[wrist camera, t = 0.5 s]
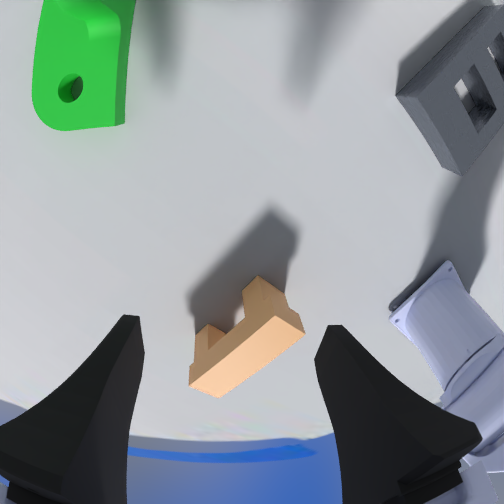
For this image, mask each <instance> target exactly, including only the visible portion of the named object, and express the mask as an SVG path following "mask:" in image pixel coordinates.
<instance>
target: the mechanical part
mask: <svg viewBox="0 0 504 504" xmlns="http://www.w3.org/2000/svg"><path fill="white" fill-rule="evenodd" d="M135 1H136V0H44V2H43V6H42V11H41V16H40V21H39V27H38V33H37V39H36V47H35V55H34V65H33V78H32V101H33V105H34V109H35V111H36V113H37V115H38V117H39V118H40V119H41V120H42V121H43V123H45V124H46V125H47V126H49V127H51V128H53V129H56V130H60V131H71V130H79V129H88V128H98V127H109V126H117V125H120V124H124V123H125V94H126V77H127V64H128V53H129V44H130V35H131V27H132V20H133V14H134V7H135ZM78 77H81V78H82V80H83V90H82V93H81V95H80V96H79V97H78V98H77V99H76V100H75V99H74V98H73V96H72V93H71V88H72V85H73V83H74V81H75V80H76V79H77V78H78Z"/></svg>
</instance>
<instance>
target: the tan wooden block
mask: <svg viewBox="0 0 504 504" xmlns="http://www.w3.org/2000/svg"><path fill="white" fill-rule="evenodd" d="M242 297H243V305H244V312H245V318H244V319H243V320H242V321H241V322H239V323H238V324H237V325H236V326H235V327H234V328H233V329H232V330H230V331H229V332H228V333H227V334H226V333H224V332H222V331H221V330H219V329H217V328H215V327H214V326H212V325H210V324H207V325H206V326H205V327H204V328H203V329H202V330H201V331H200V332H198V333H197V334H196V335H195V352H194V363H193V364H191V365H190V370H189V386H190V387H192V388H194V389H197V390H199V391H202V392H204V393H207V394H209V395H212V396H214V397H217V398H220V397H222V396H223V395H225V394H226V393H227V392H229V391H230V390H232V389H233V388H235V387H236V386H238V385H239V384H240V383H242V382H243V381H245V380H246V379H248V378H249V377H250V376H252V375H253V374H255V373H256V372H257V371H259V370H260V369H261V368H263V367H264V366H265V365H267V364H268V363H269V362H271V361H272V360H273V359H275V358H276V357H277V356H279V355H280V354H281V353H283V352H284V351H285V350H286V349H288V348H289V347H290V346H292V345H293V344H294V343H295V342H297V341H298V340H299V339H300V338H302V337H303V336H304V335H305V331H304V328H303V325H302V322H301V319H300V316H299V314H298V313H296V312H295V311H293V310H292V309H290V308H289V307H288V303H287V300H286V297H285V294H284V293H283V292H281V291H280V290H278V289H277V288H275V287H274V286H273V285H271V284H270V283H268V282H267V281H265V280H264V279H263V278H261V277H260V276H257V277H256V278H255V279H254V280H253V281H252V282H251V283H250V284H248V285H247V286H246V287H245V288H244V289H243V290H242Z"/></svg>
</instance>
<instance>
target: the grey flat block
mask: <svg viewBox="0 0 504 504" xmlns="http://www.w3.org/2000/svg"><path fill="white" fill-rule="evenodd" d="M488 46H489V48H490V49H491V51H492V53H493V55H494V57H495V59H496V61H497V63H498V65H499V67H500V69H501V71H502V72H501V73H500V72H499V70H498V68H497V66H496V64H495V62H494V60H493V58H492V57H491V55H490V53H489V51H488V49H487V48H488ZM461 78H462V80H463V82H464V83H465V85H466V87H467V89H468V91H469V93H470V94H471V96H472V98H473V100H474V102H475V104H476V106H475V107H474V108H473V109H472V111H471V112H470V113H469V114H468V113H467V111H466V109H465V107H464V105H463V103H462V102H461V100H460V98H459V96H458V94H457V93H456V91H455V89H454V86H455V85H456V83H457V82H458V81H459V80H460V79H461ZM396 97H397V99H398V100H399V101H400V103H401V104H402V105H403V107H404V108H405V110H406V111H407V112H408V114H409V115H410V117H411V118H412V120H413V121H414V122H415V124H416V125H417V127H418V128H419V130H420V131H421V133H422V135H423V136H424V138H425V139H426V141H427V142H428V144H429V146H430V147H431V149H432V151H433V152H434V154H435V156H436V157H437V159H438V161H439V163H440V164H441V166H442V167H443V168H445V169H447V170H450V171H452V172H454V173H456V174H458V175H460V176H463V175H464V174H465V173H466V171H467V170H468V169H469V168H470V166H471V165H472V164H473V163H474V161H475V160H476V159H477V158H478V156H479V155H480V154H481V153H482V151H483V150H484V149H485V147H486V146H487V145H488V143H489V142H490V141H491V139H492V138H493V137H494V135H495V134H496V133H497V131H498V130H499V128H500V127H501V126H502V124H503V123H504V5H496V6H486V7H484V8H483V9H482V10H481V11H480V12H479V13H478V14H477V15H476V16H475V17H474V18H473V19H472V20H471V21H470V22H469V23H468V24H467V25H466V26H465V27H464V28H463V29H462V30H461V31H460V32H459V33H458V34H457V35H456V36H455V37H454V38H453V39H452V40H451V41H450V42H449V43H448V44H447V45H446V46H445V47H444V48H443V49H442V50H441V51H440V52H439V53H438V54H437V55H436V56H435V57H434V58H433V59H432V60H431V61H430V62H429V63H428V64H427V65H426V66H425V67H424V68H423V69H422V70H421V71H420V72H419V73H418V74H417V75H416V76H415V77H414V78H413V79H412V80H411V81H410V82H409V83H408V84H407V85H406V86H405V87H404V88H403V89H402V90H401V91H400V92H399V93H398V94H397V95H396Z"/></svg>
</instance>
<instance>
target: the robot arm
mask: <svg viewBox="0 0 504 504" xmlns="http://www.w3.org/2000/svg"><path fill="white" fill-rule="evenodd" d="M389 320H390V321H391V323H393V324H394V325H395V326H396V327H397V328H398V329H399V330H400V331H401V332H402V333H403V334H404V335H405V336H406V337H407V338H409V339H410V340H411V341H412V342H413V343H414V344H415V345H416V346H417V347H418V349H419V351H420V352H421V354H422V355H423V357H424V358H425V360H426V362H427V363H428V365H429V367H430V368H431V370H432V371H433V373H434V375H435V376H436V378H437V380H438V381H439V383H440V385H441V386H442V388H443V390H444V393H443V395H442V396H441V397H440V400H441V401H442V403H443V405H444V406H443V407H442V408H440V407H438V406H436V405H434V404H433V403H431V402H429V401H428V400H426V399H424V398H423V397H421V396H420V395H418V394H417V393H415V392H414V391H413V390H411V389H410V388H409V387H407V386H406V385H405V384H403V383H402V382H401V381H400V380H398V379H397V378H396V377H395V376H394V375H392V374H391V373H390V372H389V371H388V370H387V369H386V368H385V367H384V366H382V365H381V364H380V363H379V362H378V361H377V360H376V359H375V358H374V357H373V356H372V355H371V354H370V353H369V352H368V351H367V350H366V349H365V348H364V347H363V346H362V345H361V344H360V343H359V342H358V341H357V340H356V339H355V338H354V337H353V335H352V334H351V333H350V332H349V331H348V330H347V329H346V328H344V327H343V326H342V325H328V327H327V329H326V332H325V334H324V337H323V339H322V342H321V344H320V347H319V349H318V351H317V354H316V356H315V358H314V361H315V367H316V373H317V378H318V382H319V386H320V389H321V392H322V395H323V398H324V401H325V404H326V407H327V410H328V413H329V416H330V420H331V423H332V426H333V430H334V433H335V438H336V444H337V449H338V456H339V463H340V470H341V481H342V498H343V504H495V503H496V502H497V501H498V497H497V495H496V492H495V490H494V487H493V485H492V483H491V480H490V478H489V476H488V473H492V472H504V433H503V432H504V333H503V332H502V330H501V329H500V328H499V327H498V326H497V324H496V323H495V322H494V321H493V320H492V319H491V318H490V316H489V315H488V314H487V313H486V312H485V311H484V310H483V309H482V307H481V306H480V305H479V304H478V303H477V302H476V301H475V300H474V299H473V298H472V297H471V296H470V295H469V294H468V292H467V291H466V290H465V288H464V286H463V284H462V282H461V280H460V278H459V276H458V274H457V272H456V270H455V268H454V266H453V264H452V262H451V261H449V260H447V261H445V262H444V263H443V264H442V265H441V267H440V268H439V269H438V270H437V271H436V272H435V273H434V274H433V275H432V276H431V277H430V278H429V279H428V280H427V281H426V282H425V283H424V284H423V285H422V286H421V287H420V288H419V289H418V290H417V291H415V292H414V293H413V294H412V295H411V296H410V297H409V298H408V299H407V300H406V301H405V302H404V303H403V304H402V305H401V306H399V307H398V308H397V309H396V310H395V311H394V312H393V313H392V314H391V315H390V316H389ZM144 355H145V352H144V346H143V339H142V332H141V325H140V317H139V316H133V315H123V316H122V317H121V318H120V319H119V320H118V322H117V323H116V324H115V326H114V327H113V328H112V329H111V331H110V332H109V333H108V334H107V336H106V337H105V338H104V339H103V341H102V342H101V343H100V344H99V345H98V347H97V348H96V349H95V350H94V351H93V352H92V354H91V355H90V356H89V357H88V358H87V359H86V360H85V361H84V362H83V363H82V364H81V366H80V367H79V368H78V369H77V370H76V371H75V372H74V373H73V374H72V375H71V376H70V377H69V378H68V379H67V380H66V381H64V382H63V383H62V384H61V385H60V386H59V387H58V388H57V389H55V390H54V391H53V392H52V393H51V394H49V395H48V396H47V397H46V398H44V399H43V400H42V401H40V402H39V403H38V404H36V405H35V406H33V407H32V408H30V409H29V410H27V411H26V412H24V413H23V414H21V415H20V416H18V417H17V418H15V419H13V420H11V421H9V422H7V423H6V424H3V425H1V426H0V475H1V476H3V477H4V478H5V479H7V480H8V481H10V483H9V487H7V486H6V485H4V484H2V483H0V504H127V494H126V471H127V451H128V438H129V430H130V424H131V419H132V415H133V411H134V406H135V402H136V398H137V394H138V389H139V385H140V381H141V377H142V370H143V363H144ZM502 433H503V434H502ZM501 434H502V435H501ZM461 458H463V459H464V460H465V461H466V462H467V463H468V465H469V466H470V467H469V468H468V469H466V470H464V471H463V472H461V473H459V471H458V469H459V468H460V467H461V463H460V461H459V460H460V459H461Z"/></svg>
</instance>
